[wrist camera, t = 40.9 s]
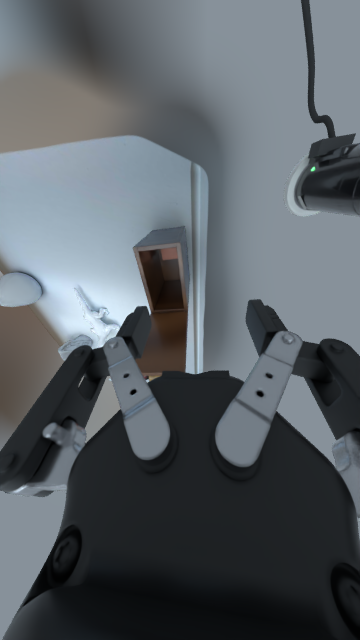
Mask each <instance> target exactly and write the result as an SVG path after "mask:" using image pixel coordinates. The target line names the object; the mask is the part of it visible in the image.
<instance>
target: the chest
mask: <svg viewBox="0 0 360 640" xmlns="http://www.w3.org/2000/svg"><path fill="white" fill-rule="evenodd" d="M167 248H177V256H178V259H169V260H163V259H162V254H161V249H167ZM133 250H134V253H135V257H136V260H137V264H138V268H139V271H140V275H141V278H142V282H143V285H144V289H145V292H146V296H147V299H148V303H149V306H150V310H151V313H168V312H184V311H188V302H189V284H190V278H189V267H188V255H187V244H186V233H185V227H177V228H169V229H162V230H154V231H151V232H150V233H149V234H148V235H147V236H146V237H144V238H143V239H142V240H141V241H140V242H139V243H138V244H136V245H135V246H134V247H133Z"/></svg>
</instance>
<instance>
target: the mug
mask: <svg viewBox="0 0 360 640" xmlns="http://www.w3.org/2000/svg"><path fill="white" fill-rule="evenodd" d="M83 345H89V346H90V347H91V346H92V340H91V339H90V338H89V337H87V336H79V337H78V338H76V339H75V340H74V341H67V342H66V343H65V344H64V345H62V346H61V347H60V348H59V349H58V352H59V353H60V354H61V358H62V359H63V360H64V361H65V360H66V359H67V357H68V356H69V355H70V353H71V352H72V351H73V350H74V349H76V348H77V347H80V346H83ZM64 348H65V349H64ZM63 349H64V350H63Z"/></svg>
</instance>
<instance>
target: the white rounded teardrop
mask: <svg viewBox="0 0 360 640" xmlns="http://www.w3.org/2000/svg"><path fill="white" fill-rule="evenodd" d="M41 294H42V291H41V287H40V285H39V284H38V282H37V281H36V280H34V279H33V278H32V277H30V276H28V275H26V274H23V273H17V272H16V273H8V274H6V275H4V276H3V277H1V278H0V305H1V306H9V307H15V306H22V305H29V304H32V303H34V302H36V301H37V300H38V299H39V298H40V296H41Z"/></svg>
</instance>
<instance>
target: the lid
mask: <svg viewBox="0 0 360 640" xmlns="http://www.w3.org/2000/svg"><path fill="white" fill-rule="evenodd" d="M150 319H151V323H152V326H151V330H150V333H149V336H148V339H147V342H146V345H145V348H144V351H143V354H142V357H141V359H135V361H136V363H137V365H138V367H139V369H140V371H141V373H142V375H143V376H149V381H151V380H153V379H155V378H157V377H160V376H162V371H181V372H185V369H186V348H187V326H188V311H185V312H168V313H151V314H150Z"/></svg>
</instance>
